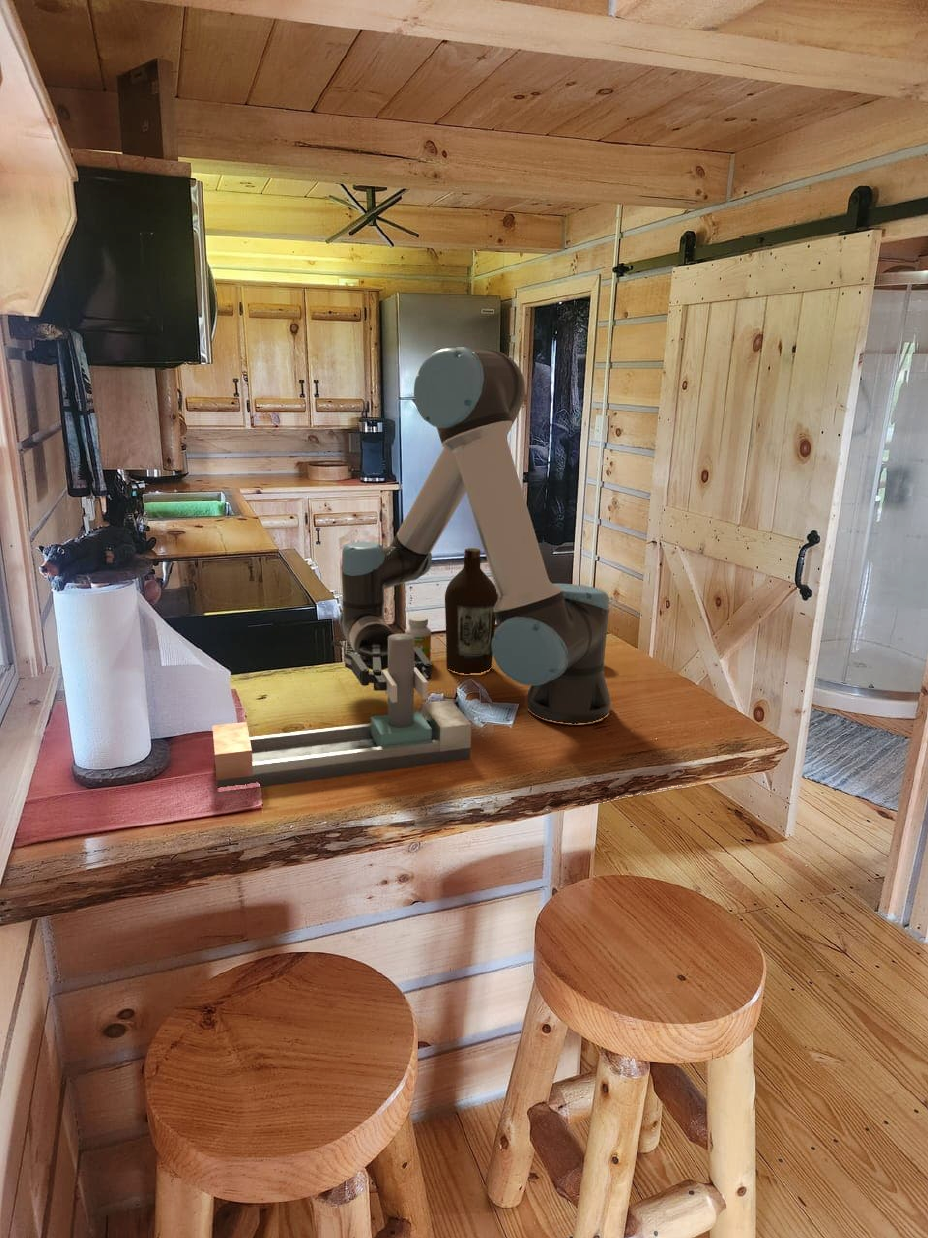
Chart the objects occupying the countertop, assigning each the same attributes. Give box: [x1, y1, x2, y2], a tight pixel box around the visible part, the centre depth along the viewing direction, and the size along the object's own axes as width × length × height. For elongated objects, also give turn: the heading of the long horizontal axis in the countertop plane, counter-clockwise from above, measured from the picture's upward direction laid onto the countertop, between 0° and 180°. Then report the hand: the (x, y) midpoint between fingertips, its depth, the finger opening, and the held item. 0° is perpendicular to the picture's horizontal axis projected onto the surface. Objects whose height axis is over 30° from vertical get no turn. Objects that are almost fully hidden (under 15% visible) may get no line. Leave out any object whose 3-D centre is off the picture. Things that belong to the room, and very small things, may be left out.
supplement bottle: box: [404, 615, 432, 662], centre depth 164 cm, size 5×5×10 cm
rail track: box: [211, 699, 472, 788], centre depth 122 cm, size 38×10×6 cm, turn 109°
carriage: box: [370, 633, 432, 747], centre depth 122 cm, size 8×7×17 cm
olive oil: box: [444, 547, 498, 674], centre depth 159 cm, size 11×11×25 cm
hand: (410, 692), depth 117 cm, fingers closed on carriage, 4 cm apart
